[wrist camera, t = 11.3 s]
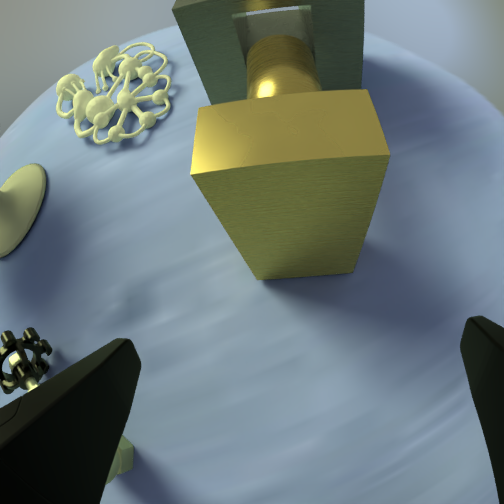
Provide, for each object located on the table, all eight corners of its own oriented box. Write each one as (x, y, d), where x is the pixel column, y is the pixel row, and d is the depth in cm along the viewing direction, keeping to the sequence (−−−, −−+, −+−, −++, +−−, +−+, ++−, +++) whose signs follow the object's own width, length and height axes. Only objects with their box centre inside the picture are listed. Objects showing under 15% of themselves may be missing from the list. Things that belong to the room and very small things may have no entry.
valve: (158, 442, 18) (59, 334, 22) (100, 461, 12) (-1, 317, 16) (115, 494, 16) (29, 388, 21) (59, 517, 10) (-28, 381, 15)
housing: (359, 111, 24) (364, -15, 13) (219, 125, 26) (171, 9, 15) (336, 50, 27) (330, -49, 16) (224, 62, 30) (192, -31, 19)
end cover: (352, 272, 19) (390, 154, 8) (257, 280, 20) (190, 174, 9) (330, 136, 23) (325, 1, 12) (254, 143, 24) (214, 15, 13)
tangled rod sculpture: (213, 101, 29) (205, 70, 26) (92, 182, 27) (71, 157, 23) (142, 49, 36) (134, 27, 33) (57, 105, 34) (43, 85, 30)
